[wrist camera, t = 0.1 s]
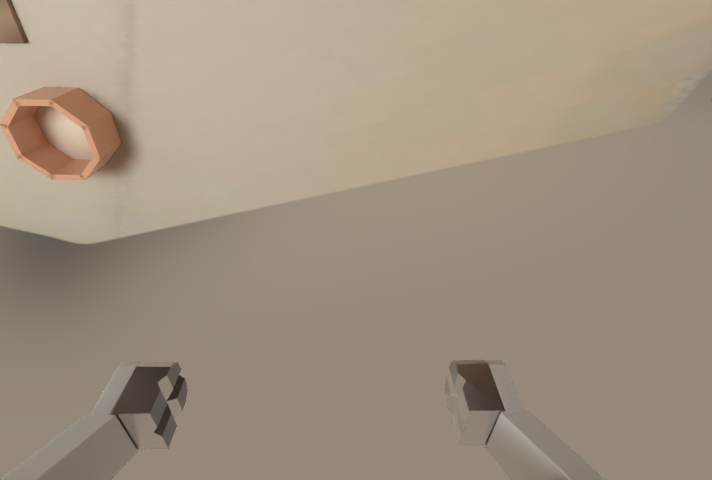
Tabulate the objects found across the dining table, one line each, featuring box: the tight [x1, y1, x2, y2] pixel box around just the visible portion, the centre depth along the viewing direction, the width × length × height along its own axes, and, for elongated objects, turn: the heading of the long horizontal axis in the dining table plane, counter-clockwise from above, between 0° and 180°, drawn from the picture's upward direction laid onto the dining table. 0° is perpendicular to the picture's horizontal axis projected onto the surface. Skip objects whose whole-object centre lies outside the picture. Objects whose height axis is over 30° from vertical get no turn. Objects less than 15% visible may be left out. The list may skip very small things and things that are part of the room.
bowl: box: [0, 87, 121, 180], centre depth 53 cm, size 11×11×6 cm
